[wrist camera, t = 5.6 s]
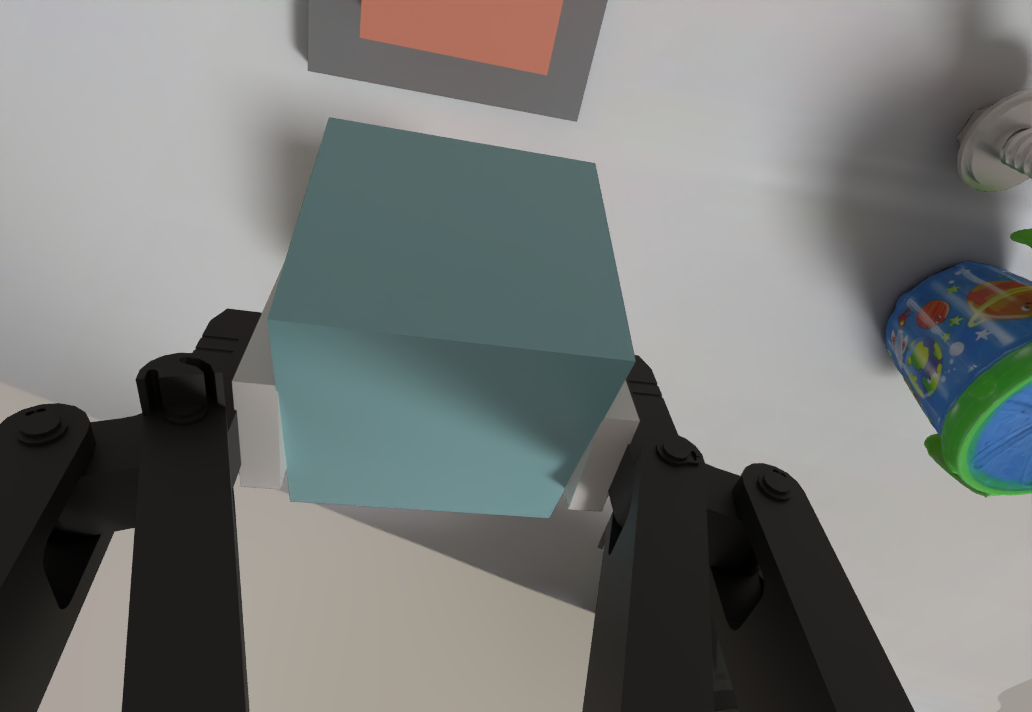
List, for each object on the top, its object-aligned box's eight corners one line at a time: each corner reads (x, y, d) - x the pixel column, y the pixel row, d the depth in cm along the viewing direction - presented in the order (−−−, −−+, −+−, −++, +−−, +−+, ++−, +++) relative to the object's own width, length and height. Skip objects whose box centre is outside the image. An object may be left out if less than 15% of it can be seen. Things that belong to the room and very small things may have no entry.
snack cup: (967, 404, 44) (1084, 522, 36) (821, 411, 43) (906, 535, 35) (1092, 188, 34) (1290, 282, 26) (907, 193, 34) (1051, 292, 25)
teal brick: (535, 334, 19) (549, 518, 15) (331, 309, 18) (290, 501, 14) (595, 163, 15) (635, 361, 11) (328, 117, 14) (267, 319, 10)
